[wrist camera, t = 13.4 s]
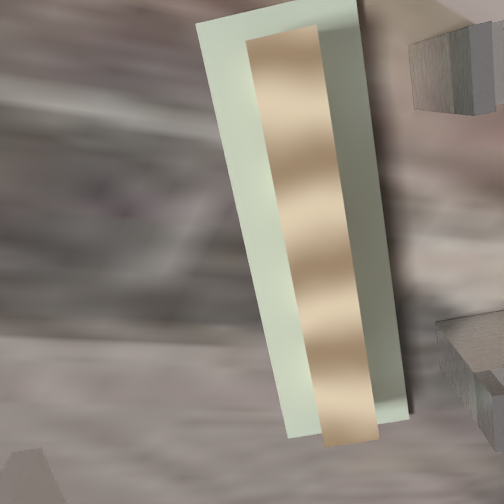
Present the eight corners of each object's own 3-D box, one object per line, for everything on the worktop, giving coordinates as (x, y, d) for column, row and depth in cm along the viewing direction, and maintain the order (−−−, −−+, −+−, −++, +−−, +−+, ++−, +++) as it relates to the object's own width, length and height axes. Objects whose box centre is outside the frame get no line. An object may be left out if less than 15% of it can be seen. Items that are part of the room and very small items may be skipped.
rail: (247, 47, 30) (245, 40, 27) (309, 33, 30) (316, 24, 26) (318, 413, 39) (324, 447, 35) (367, 405, 38) (379, 439, 35)
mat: (196, 25, 30) (195, 23, 30) (352, -12, 30) (354, -14, 29) (287, 433, 40) (288, 438, 40) (407, 414, 39) (409, 419, 39)
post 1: (407, 46, 31) (469, 26, 22) (519, 21, 30) (630, -11, 21) (414, 109, 32) (474, 115, 23) (521, 86, 31) (627, 84, 22)
